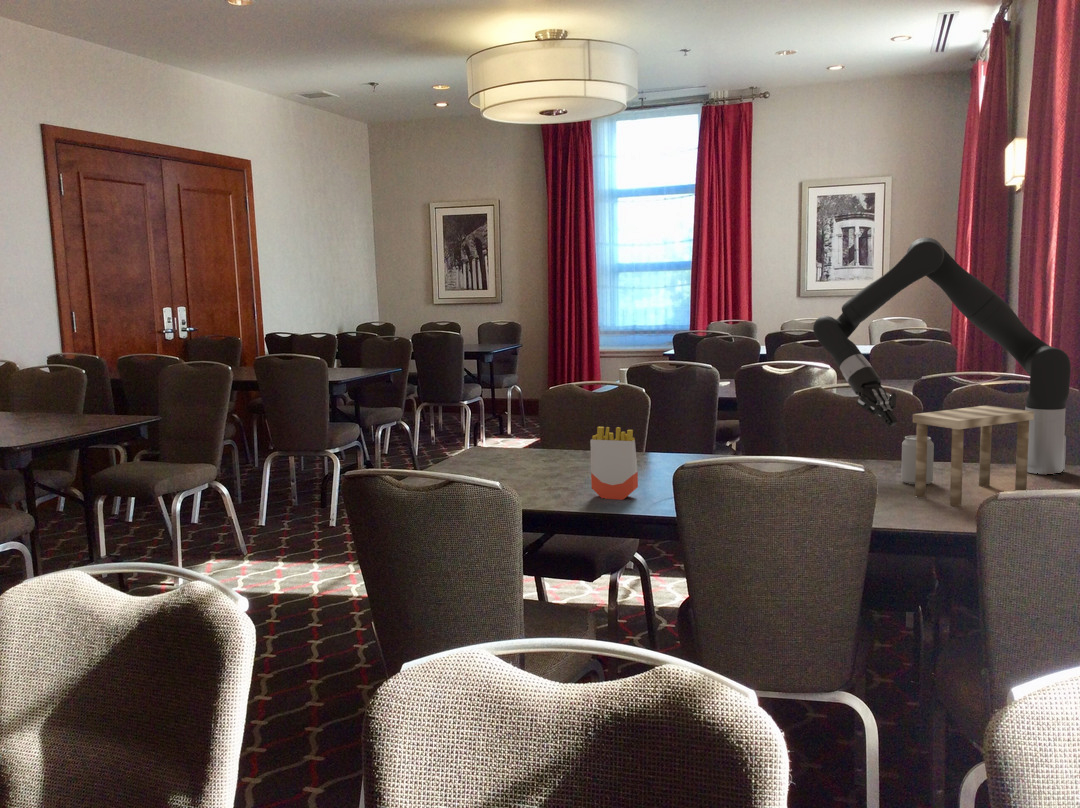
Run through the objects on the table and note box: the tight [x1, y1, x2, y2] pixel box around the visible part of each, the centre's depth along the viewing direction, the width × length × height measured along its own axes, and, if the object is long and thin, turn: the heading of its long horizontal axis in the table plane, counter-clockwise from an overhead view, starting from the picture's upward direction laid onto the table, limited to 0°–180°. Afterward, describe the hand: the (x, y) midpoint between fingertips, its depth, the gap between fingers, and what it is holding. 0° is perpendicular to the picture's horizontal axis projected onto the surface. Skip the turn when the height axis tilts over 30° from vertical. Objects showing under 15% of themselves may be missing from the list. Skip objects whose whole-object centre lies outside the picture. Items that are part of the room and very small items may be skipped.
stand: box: [912, 405, 1034, 508], centre depth 210 cm, size 25×13×20 cm, turn 115°
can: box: [900, 435, 935, 485], centre depth 225 cm, size 8×8×12 cm
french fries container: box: [589, 426, 639, 500], centre depth 220 cm, size 5×11×18 cm, turn 68°
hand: (893, 424), depth 231 cm, fingers closed
